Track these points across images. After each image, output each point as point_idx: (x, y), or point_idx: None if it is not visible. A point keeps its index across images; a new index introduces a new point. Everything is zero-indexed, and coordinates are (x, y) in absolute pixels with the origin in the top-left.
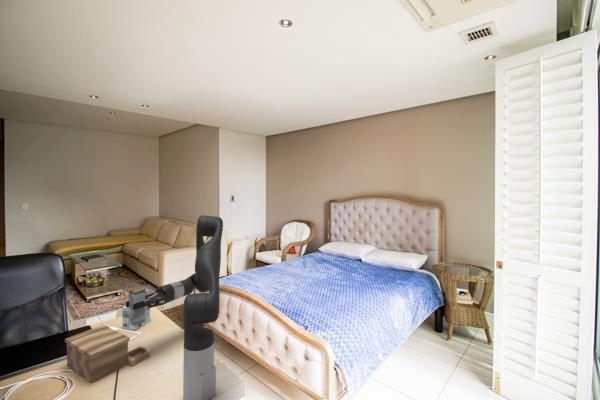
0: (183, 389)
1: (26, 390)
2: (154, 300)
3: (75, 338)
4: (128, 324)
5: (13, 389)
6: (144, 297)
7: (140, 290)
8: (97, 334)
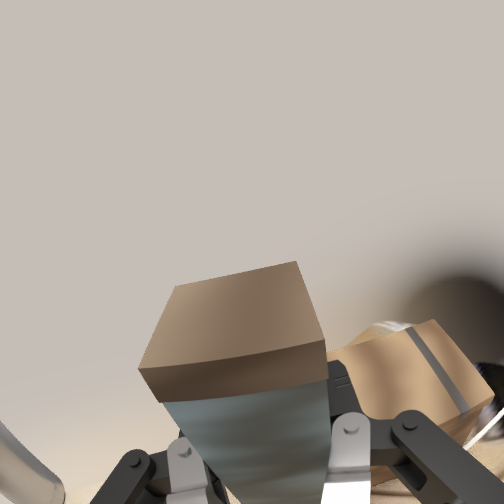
0: (44, 466)
1: (367, 338)
2: (103, 488)
3: (421, 337)
4: None
5: (385, 325)
6: (193, 436)
7: (160, 323)
8: (414, 384)
